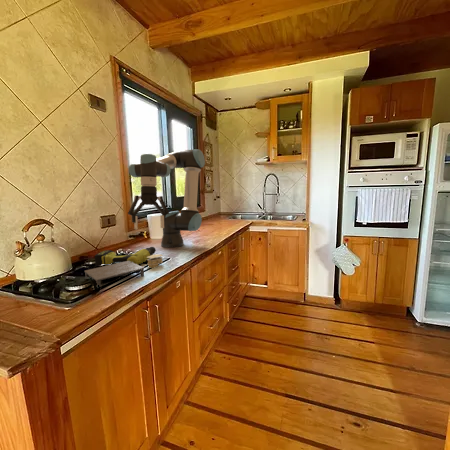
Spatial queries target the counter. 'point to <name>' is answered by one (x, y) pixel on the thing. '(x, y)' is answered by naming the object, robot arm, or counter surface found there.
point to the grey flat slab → (113, 271)
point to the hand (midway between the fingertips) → (149, 228)
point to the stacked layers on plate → (154, 260)
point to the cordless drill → (136, 258)
